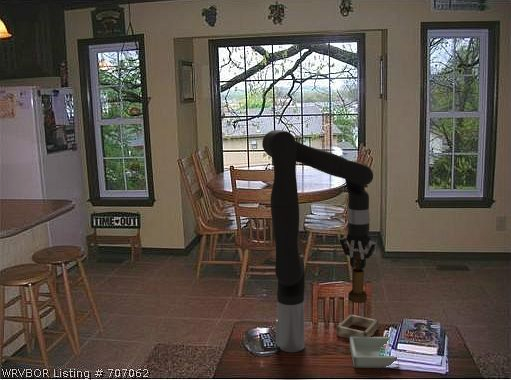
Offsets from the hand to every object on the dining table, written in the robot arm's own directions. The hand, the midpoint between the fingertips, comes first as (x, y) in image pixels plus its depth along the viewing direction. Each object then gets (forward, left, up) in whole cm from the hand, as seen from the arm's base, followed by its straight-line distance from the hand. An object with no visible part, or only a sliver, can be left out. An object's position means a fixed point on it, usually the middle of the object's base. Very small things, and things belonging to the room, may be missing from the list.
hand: (357, 267), depth 187 cm
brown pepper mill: (0, 0, -12) cm, 12 cm away
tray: (+11, -14, -25) cm, 31 cm away
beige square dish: (0, 0, -25) cm, 25 cm away
